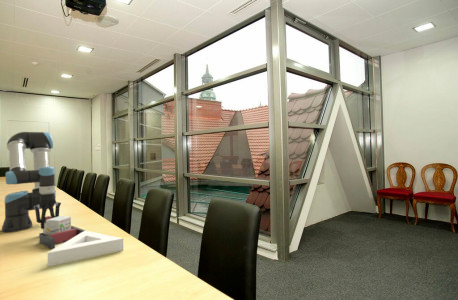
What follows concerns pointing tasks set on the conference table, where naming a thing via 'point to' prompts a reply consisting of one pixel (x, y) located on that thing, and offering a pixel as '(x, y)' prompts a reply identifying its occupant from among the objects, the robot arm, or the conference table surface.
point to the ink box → (58, 225)
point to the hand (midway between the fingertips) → (48, 232)
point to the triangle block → (84, 247)
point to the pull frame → (62, 234)
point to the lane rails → (50, 240)
